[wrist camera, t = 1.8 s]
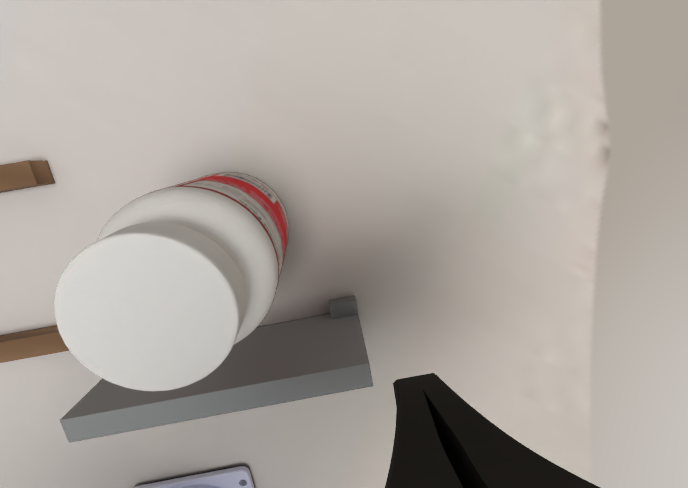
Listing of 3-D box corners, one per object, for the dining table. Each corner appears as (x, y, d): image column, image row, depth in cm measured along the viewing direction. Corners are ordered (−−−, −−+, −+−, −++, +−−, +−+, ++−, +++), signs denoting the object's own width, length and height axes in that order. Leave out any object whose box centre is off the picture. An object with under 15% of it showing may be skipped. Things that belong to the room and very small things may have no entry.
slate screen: (361, 339, 22) (375, 402, 16) (142, 379, 22) (76, 458, 16) (354, 295, 21) (366, 345, 15) (127, 336, 21) (52, 403, 15)
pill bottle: (196, 285, 20) (72, 434, 10) (164, 181, 19) (-28, 228, 8) (300, 265, 21) (287, 391, 10) (277, 162, 19) (234, 183, 8)
